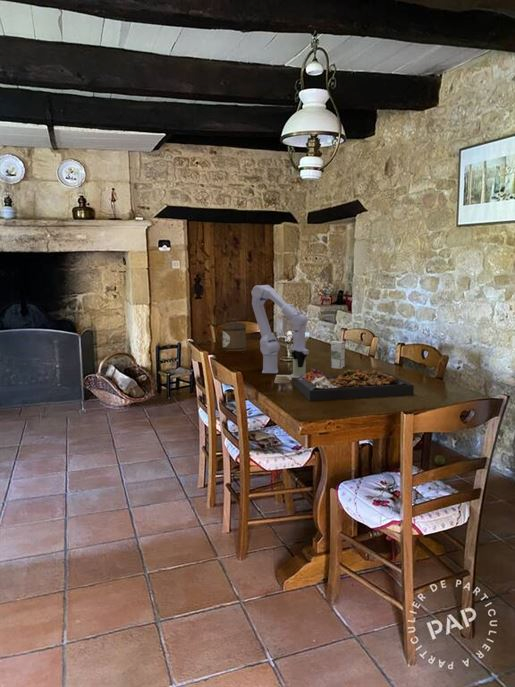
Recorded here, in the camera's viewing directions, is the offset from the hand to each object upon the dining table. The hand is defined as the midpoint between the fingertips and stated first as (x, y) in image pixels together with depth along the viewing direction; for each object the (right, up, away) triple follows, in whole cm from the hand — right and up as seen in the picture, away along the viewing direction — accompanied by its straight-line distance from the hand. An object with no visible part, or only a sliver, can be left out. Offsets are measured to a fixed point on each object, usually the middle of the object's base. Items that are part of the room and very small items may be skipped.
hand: (299, 366), depth 244 cm
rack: (-8, -6, -5) cm, 11 cm away
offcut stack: (-9, -7, -12) cm, 17 cm away
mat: (0, -5, +1) cm, 5 cm away
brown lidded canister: (-35, +5, +68) cm, 77 cm away
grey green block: (0, -4, +1) cm, 4 cm away
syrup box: (+22, -2, +20) cm, 29 cm away
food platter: (+20, -10, -27) cm, 35 cm away
